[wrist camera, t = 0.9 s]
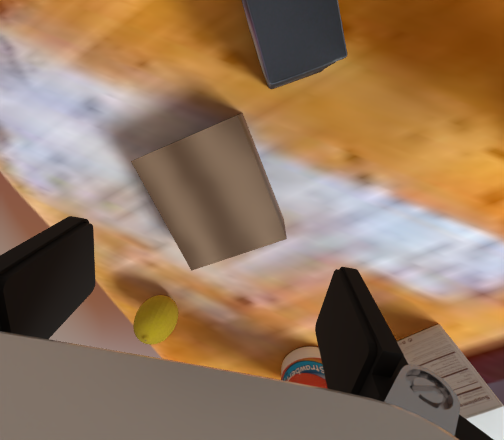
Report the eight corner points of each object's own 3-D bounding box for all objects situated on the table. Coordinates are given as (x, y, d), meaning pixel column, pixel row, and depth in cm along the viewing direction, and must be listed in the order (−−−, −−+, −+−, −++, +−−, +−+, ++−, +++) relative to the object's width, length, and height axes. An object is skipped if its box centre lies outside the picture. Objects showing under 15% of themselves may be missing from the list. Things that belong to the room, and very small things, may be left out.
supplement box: (457, 353, 44) (527, 444, 32) (411, 371, 46) (461, 463, 34) (439, 321, 42) (506, 406, 30) (392, 341, 44) (437, 428, 32)
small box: (234, -21, 28) (216, -88, 18) (299, -50, 26) (318, -138, 17) (267, 92, 31) (266, 87, 22) (325, 70, 30) (352, 55, 20)
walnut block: (242, 113, 32) (237, 115, 27) (283, 218, 37) (286, 238, 32) (152, 152, 35) (131, 161, 29) (202, 247, 39) (191, 270, 34)
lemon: (155, 316, 44) (132, 359, 37) (143, 286, 42) (116, 325, 35) (188, 312, 43) (172, 354, 36) (178, 282, 41) (159, 320, 34)
